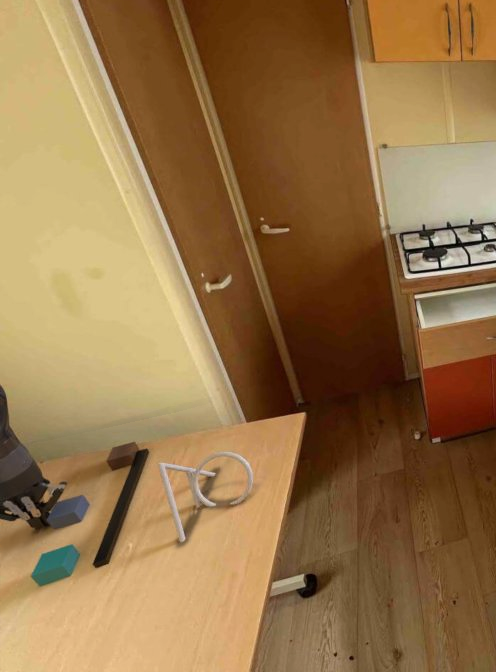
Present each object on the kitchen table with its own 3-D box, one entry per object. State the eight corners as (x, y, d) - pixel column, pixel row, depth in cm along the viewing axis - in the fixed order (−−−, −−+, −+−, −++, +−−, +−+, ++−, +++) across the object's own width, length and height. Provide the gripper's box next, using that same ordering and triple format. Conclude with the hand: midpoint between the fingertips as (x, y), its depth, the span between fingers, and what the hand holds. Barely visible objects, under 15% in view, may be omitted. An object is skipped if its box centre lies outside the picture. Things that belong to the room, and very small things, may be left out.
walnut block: (114, 474, 102) (106, 461, 100) (120, 460, 106) (112, 447, 103) (137, 467, 104) (129, 454, 102) (142, 454, 107) (135, 441, 105)
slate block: (56, 533, 89) (46, 520, 87) (66, 515, 92) (56, 502, 90) (84, 525, 91) (74, 511, 88) (92, 507, 94) (83, 494, 92)
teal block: (42, 590, 79) (30, 576, 77) (53, 567, 83) (41, 553, 81) (73, 579, 81) (62, 565, 79) (83, 557, 85) (72, 543, 82)
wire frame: (279, 492, 103) (245, 526, 87) (224, 510, 102) (180, 548, 86) (259, 422, 103) (221, 443, 88) (204, 439, 102) (156, 463, 86)
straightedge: (98, 571, 82) (92, 564, 81) (141, 457, 106) (137, 450, 105) (111, 567, 83) (105, 559, 82) (151, 455, 107) (147, 448, 106)
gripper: (58, 444, 87) (90, 499, 95) (-33, 464, 82) (9, 520, 89) (41, 472, 81) (77, 529, 89) (-58, 495, 76) (-11, 553, 84)
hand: (43, 524), depth 89 cm, fingers closed
